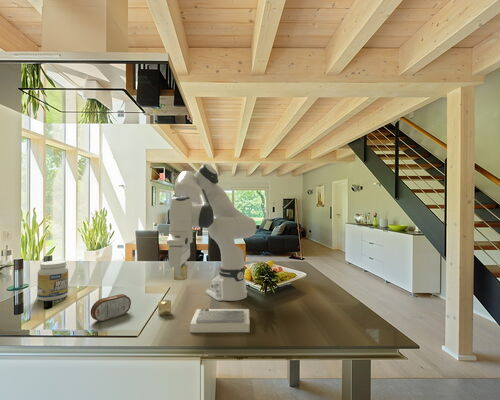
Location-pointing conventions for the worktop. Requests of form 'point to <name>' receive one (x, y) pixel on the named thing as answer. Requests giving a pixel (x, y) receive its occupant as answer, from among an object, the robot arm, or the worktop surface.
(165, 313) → the weight
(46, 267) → the supplement tub
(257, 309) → the worktop surface
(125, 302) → the tin
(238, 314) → the scale
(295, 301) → the worktop surface
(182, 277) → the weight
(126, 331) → the worktop surface
